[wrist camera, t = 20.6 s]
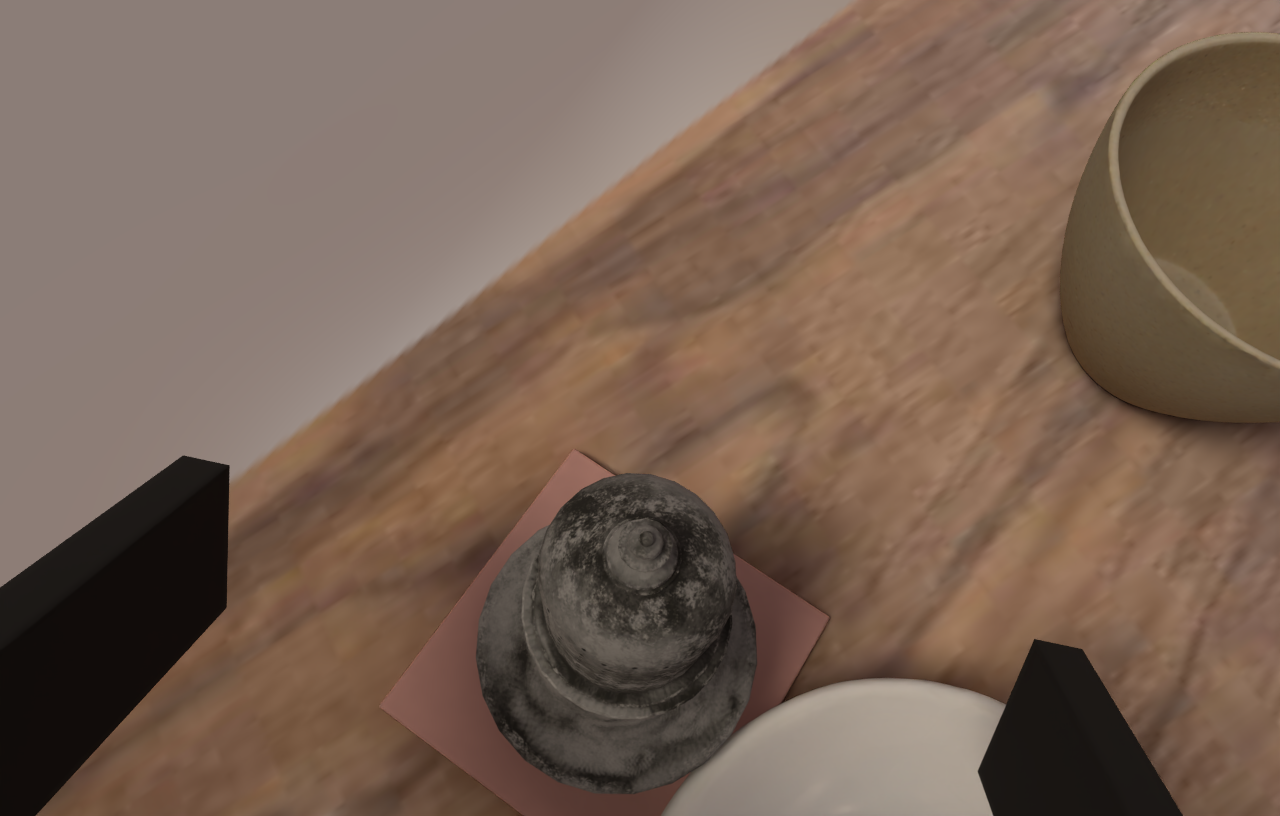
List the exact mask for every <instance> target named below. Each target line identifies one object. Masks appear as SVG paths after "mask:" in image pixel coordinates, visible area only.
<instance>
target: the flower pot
mask: <svg viewBox="0 0 1280 816" xmlns="http://www.w3.org/2000/svg"><path fill="white" fill-rule="evenodd" d="M1060 299H1061V310H1062V317H1063V323H1064V327H1065V332H1066V335H1067V339H1068V342H1069V345H1070V347H1071V349H1072V351H1073V353H1074V355H1075V357H1076V359H1077V360H1078V362H1079V363H1080V365H1081V366H1082V368H1083V369H1084V370H1085V371H1086V372H1087V373H1088V374H1089V375H1090V377H1091V378H1092V379H1093V380H1094V381H1095V382H1096V383H1098V384H1099V385H1100V386H1101V387H1103V388H1104V389H1105V390H1107V391H1108V392H1109V393H1111V394H1112V395H1114V396H1116V397H1117V398H1119V399H1121V400H1123V401H1125V402H1127V403H1130V404H1132V405H1134V406H1138V407H1141V408H1144V409H1147V410H1150V411H1154V412H1158V413H1163V414H1167V415H1172V416H1176V417H1182V418H1188V419H1194V420H1201V421H1215V422H1232V423H1272V422H1280V34H1278V33H1268V32H1240V33H1230V34H1221V35H1216V36H1212V37H1207V38H1203V39H1200V40H1196V41H1193V42H1190V43H1187V44H1185V45H1182V46H1180V47H1178V48H1176V49H1174V50H1171V51H1170V52H1168V53H1167V54H1165V55H1163V56H1161V57H1160V58H1158V59H1157V60H1156V61H1154V62H1153V63H1152V64H1150V65H1149V66H1148V67H1147V68H1146V69H1145V70H1144V71H1143V72H1142V73H1141V74H1140V75H1139V76H1138V77H1137V78H1136V79H1135V80H1134V81H1133V82H1132V84H1131V85H1130V86H1129V88H1128V89H1127V91H1126V92H1125V93H1124V95H1123V96H1122V98H1121V99H1120V101H1119V103H1118V104H1117V106H1116V107H1115V109H1114V111H1113V113H1112V114H1111V116H1110V118H1109V119H1108V121H1107V123H1106V125H1105V127H1104V129H1103V131H1102V133H1101V135H1100V137H1099V139H1098V141H1097V143H1096V145H1095V147H1094V149H1093V151H1092V153H1091V156H1090V158H1089V160H1088V163H1087V165H1086V168H1085V170H1084V172H1083V175H1082V178H1081V180H1080V183H1079V186H1078V188H1077V191H1076V195H1075V198H1074V201H1073V204H1072V208H1071V211H1070V215H1069V219H1068V223H1067V227H1066V232H1065V238H1064V244H1063V250H1062V260H1061V271H1060Z"/></svg>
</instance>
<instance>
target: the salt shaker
mask: <svg viewBox="0 0 1280 816" xmlns="http://www.w3.org/2000/svg"><path fill="white" fill-rule="evenodd" d="M476 662H477V668H478V673H479V679H480V684H481V690H482V696H483V698H484V700H485V702H486V704H487V706H488V708H489V710H490V713H491V715H492V717H493V719H494V721H495V723H496V725H497V727H498V729H499V731H500V732H501V734H502V735H503V736H504V737H505V738H506V739H507V740H508V742H509V743H510V744H511V745H512V746H513V747H514V749H515V750H516V751H517V752H518V753H519V754H520V756H521V757H522V758H523V759H524V760H525V761H526V762H528V763H529V764H531V765H532V766H534V767H535V768H537V769H538V770H540V771H542V772H543V773H545V774H546V775H548V776H549V777H551V778H552V779H554V780H555V781H557V782H559V783H562V784H566V785H569V786H572V787H575V788H579V789H582V790H585V791H588V792H592V793H595V794H637V793H640V792H644V791H647V790H651V789H655V788H658V787H662V786H665V785H669V784H672V783H674V782H676V781H677V780H679V779H680V778H682V777H684V776H685V775H687V774H689V773H690V772H692V771H693V770H695V769H697V768H698V767H700V766H702V765H703V764H705V763H706V762H707V761H708V760H709V759H710V757H711V756H712V755H713V754H714V753H715V752H716V751H717V750H718V749H719V748H720V747H721V746H722V744H723V743H724V742H725V741H726V740H727V739H728V738H729V737H730V736H731V735H732V733H733V731H734V729H735V727H736V725H737V723H738V721H739V719H740V717H741V715H742V713H743V711H744V710H745V708H746V706H747V704H748V702H749V699H750V694H751V690H752V685H753V681H754V676H755V672H756V667H757V644H756V625H755V622H754V618H753V615H752V612H751V608H750V605H749V602H748V598H747V595H746V592H745V590H744V588H743V586H742V585H741V583H740V581H739V580H738V578H737V576H736V562H735V558H734V555H733V551H732V548H731V545H730V542H729V538H728V535H727V533H726V531H725V529H724V528H723V526H722V524H721V523H720V521H719V520H718V518H717V516H716V515H715V513H714V512H713V511H712V510H711V509H710V508H709V507H708V506H707V505H706V504H705V503H704V502H703V501H702V500H701V499H700V498H699V497H698V496H697V495H696V494H695V493H693V492H691V491H690V490H688V489H686V488H685V487H683V486H681V485H680V484H678V483H676V482H675V481H671V480H668V479H665V478H661V477H658V476H655V475H651V474H631V473H626V474H621V475H616V476H611V477H607V478H603V479H601V480H599V481H597V482H595V483H593V484H591V485H589V486H587V487H585V488H583V489H581V490H580V491H579V492H578V493H577V494H575V495H574V496H573V497H572V498H571V499H570V500H569V501H568V502H567V503H565V504H564V505H563V506H562V507H561V508H560V510H559V511H558V513H557V514H556V516H555V518H554V519H553V521H552V522H551V524H550V525H548V526H546V527H544V528H542V529H540V530H538V531H537V532H536V533H535V534H534V535H533V536H531V537H530V538H529V539H528V540H527V541H526V542H525V543H524V544H522V545H521V546H520V547H519V548H518V549H517V550H516V551H515V552H513V553H512V554H511V556H510V557H509V559H508V560H507V562H506V563H505V565H504V566H503V568H502V569H501V571H500V572H499V574H498V575H497V577H496V578H495V580H494V581H493V583H492V584H491V586H490V589H489V592H488V595H487V598H486V601H485V603H484V606H483V609H482V612H481V615H480V618H479V623H478V635H477V648H476Z"/></svg>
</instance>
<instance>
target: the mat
mask: <svg viewBox="0 0 1280 816" xmlns="http://www.w3.org/2000/svg"><path fill="white" fill-rule="evenodd" d="M611 476H615V475H614V474H612V473H611V472H609V471H608V470H606V469H605V468H603V467H601V466H600V465H598V464H597V463H595V462H594V461H592V460H591V459H589V458H588V457H586V456H585V455H583V454H582V453H580V452H579V451H577V450H576V449H573V450H572V451H571V452H570V454H569V455H568V456H567V458H566V459H565V460H564V462H563V463H562V464H561V466H560V467H559V468H558V470H557V471H556V472H555V474H554V475H553V476H552V478H551V479H550V480H549V481H548V483H547V484H546V485H545V487H544V488H543V489H542V491H541V492H540V493H539V495H538V496H537V497H536V499H535V500H534V501H533V503H532V504H531V505H530V507H529V508H528V509H527V511H526V512H525V513H524V515H523V516H522V517H521V519H520V520H519V521H518V522H517V524H516V525H515V526H514V528H513V529H512V530H511V532H510V533H509V534H508V536H507V537H506V538H505V540H504V541H503V542H502V544H501V545H500V546H499V548H498V549H497V550H496V552H495V553H494V554H493V556H492V557H491V558H490V559H489V561H488V562H487V563H486V565H485V566H484V567H483V569H482V570H481V571H480V573H479V574H478V575H477V577H476V578H475V579H474V581H473V582H472V583H471V585H470V586H469V587H468V589H467V590H466V591H465V593H464V594H463V595H462V597H461V598H460V599H459V600H458V602H457V603H456V604H455V606H454V607H453V608H452V610H451V611H450V612H449V614H448V615H447V616H446V618H445V619H444V620H443V622H442V623H441V624H440V626H439V627H438V628H437V630H436V631H435V632H434V634H433V635H432V636H431V637H430V639H429V640H428V641H427V643H426V644H425V645H424V647H423V648H422V649H421V651H420V652H419V653H418V655H417V656H416V657H415V659H414V660H413V661H412V663H411V664H410V665H409V667H408V668H407V669H406V671H405V672H404V673H403V675H402V676H401V677H400V678H399V680H398V681H397V682H396V684H395V685H394V686H393V688H392V689H391V690H390V692H389V693H388V694H387V696H386V697H385V698H384V700H383V701H382V702H381V704H380V708H381V709H382V710H384V711H385V712H386V713H388V714H389V715H390V716H392V717H393V718H394V719H396V720H397V721H398V722H400V723H401V724H402V725H404V726H405V727H406V728H408V729H409V730H410V731H412V732H413V733H414V734H416V735H417V736H418V737H420V738H421V739H422V740H424V741H425V742H426V743H427V744H429V745H430V746H431V747H433V748H434V749H435V750H437V751H438V752H439V753H441V754H442V755H443V756H445V757H446V758H447V759H449V760H450V761H451V762H453V763H454V764H455V765H457V766H458V767H459V768H461V769H462V770H463V771H465V772H466V773H467V774H469V775H470V776H471V777H473V778H474V779H475V780H477V781H478V782H479V783H481V784H482V785H483V786H485V787H486V788H487V789H489V790H490V791H491V792H493V793H494V794H495V795H497V796H498V797H499V798H501V799H502V800H503V801H505V802H506V803H507V804H509V805H510V806H511V807H513V808H514V809H515V810H517V811H518V812H519V813H521V814H522V815H523V816H661V814H662V813H663V811H664V809H665V807H666V806H667V804H668V803H669V801H670V800H671V799H672V797H673V796H674V794H675V793H676V791H677V790H678V789H679V787H680V786H681V785H682V783H683V782H684V781H685V779H686V778H687V777H688V775H689V774H690V773H691V772H690V773H689V774H687V775H685V776H684V777H682V778H680V779H679V780H677V781H676V782H674V783H672V784H669V785H665V786H662V787H658V788H655V789H651V790H647V791H644V792H640V793H637V794H595V793H592V792H588V791H585V790H582V789H579V788H575V787H572V786H569V785H566V784H562V783H559V782H557V781H555V780H554V779H552V778H551V777H549V776H548V775H546V774H545V773H543V772H542V771H540V770H538V769H537V768H535V767H534V766H532V765H531V764H529V763H528V762H526V761H525V760H524V759H523V758H522V757H521V756H520V754H519V753H518V752H517V751H516V750H515V749H514V747H513V746H512V745H511V744H510V743H509V742H508V740H507V739H506V738H505V737H504V736H503V735H502V734H501V732H500V731H499V729H498V727H497V725H496V723H495V721H494V719H493V717H492V715H491V713H490V710H489V708H488V706H487V704H486V702H485V700H484V698H483V696H482V690H481V684H480V679H479V673H478V668H477V662H476V648H477V635H478V623H479V618H480V615H481V612H482V609H483V606H484V603H485V601H486V598H487V595H488V592H489V589H490V586H491V584H492V583H493V581H494V580H495V578H496V577H497V575H498V574H499V572H500V571H501V569H502V568H503V566H504V565H505V563H506V562H507V560H508V559H509V557H510V556H511V554H512V553H513V552H515V551H516V550H517V549H518V548H519V547H520V546H521V545H522V544H524V543H525V542H526V541H527V540H528V539H529V538H530V537H531V536H533V535H534V534H535V533H536V532H537V531H538V530H540V529H542V528H544V527H546V526H548V525H550V524H551V522H552V521H553V519H554V518H555V516H556V514H557V513H558V511H559V510H560V508H561V507H562V506H563V505H564V504H565V503H567V502H568V501H569V500H570V499H571V498H572V497H573V496H574V495H575V494H577V493H578V492H579V491H580V490H581V489H583V488H585V487H587V486H589V485H591V484H593V483H595V482H597V481H599V480H601V479H603V478H607V477H611ZM733 555H734V558H735V562H736V576H737V578H738V580H739V581H740V583H741V585H742V586H743V588H744V590H745V592H746V595H747V598H748V602H749V605H750V608H751V612H752V615H753V618H754V622H755V625H756V644H757V667H756V672H755V676H754V681H753V685H752V690H751V694H750V699H749V702H748V704H747V706H746V708H745V710H744V711H743V713H742V715H741V717H740V719H739V721H738V723H737V725H736V727H735V729H734V731H733V733H735V732H736V731H737V730H739V729H740V728H741V727H743V726H744V725H746V724H747V723H749V722H750V721H752V720H754V719H755V718H757V717H758V716H760V715H762V714H763V713H765V712H766V711H768V710H770V709H771V708H773V707H775V706H777V705H779V704H781V703H782V701H783V700H784V698H785V696H786V694H787V693H788V691H789V689H790V687H791V686H792V684H793V682H794V680H795V679H796V677H797V675H798V673H799V672H800V670H801V668H802V666H803V665H804V663H805V661H806V659H807V658H808V656H809V654H810V652H811V651H812V649H813V647H814V645H815V644H816V642H817V640H818V638H819V637H820V635H821V633H822V631H823V630H824V628H825V626H826V624H827V623H828V621H829V616H827V615H826V614H824V613H823V612H821V611H820V610H818V609H817V608H815V607H814V606H812V605H811V604H809V603H808V602H806V601H805V600H803V599H802V598H800V597H799V596H797V595H796V594H794V593H792V592H791V591H789V590H788V589H786V588H785V587H783V586H782V585H780V584H779V583H777V582H776V581H774V580H773V579H771V578H770V577H768V576H767V575H765V574H764V573H762V572H761V571H759V570H758V569H756V568H755V567H753V566H752V565H750V564H749V563H747V562H745V561H744V560H742V559H741V558H739V557H738V556H736V555H735V554H733ZM733 733H732V734H733Z"/></svg>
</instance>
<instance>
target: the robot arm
mask: <svg viewBox="0 0 1280 816" xmlns="http://www.w3.org/2000/svg"><path fill="white" fill-rule="evenodd" d="M228 512H229V465H225V464H220V463H215V462H210V461H206V460H201V459H197V458H192V457H187V456H182V457H180V458H179V459H178V460H176V461H175V462H173V463H172V464H171V465H169V466H168V467H167V468H165V469H164V470H163V471H161V472H160V473H158V474H157V475H155V476H154V477H153V478H151V479H150V480H149V481H147V482H146V483H144V484H143V485H142V486H140V487H139V488H137V489H136V490H135V491H133V492H132V493H131V494H129V495H128V496H126V497H125V498H124V499H122V500H121V501H119V502H118V503H117V504H115V505H114V506H113V507H111V508H110V509H108V510H107V511H106V512H104V513H103V514H101V515H100V516H99V517H97V518H96V519H95V520H93V521H92V522H90V523H89V524H88V525H86V526H85V527H83V528H82V529H81V530H79V531H78V532H77V533H75V534H74V535H72V536H71V537H70V538H68V539H67V540H65V541H64V542H63V543H61V544H60V545H59V546H57V547H56V548H54V549H53V550H52V551H50V552H49V553H47V554H46V555H45V556H43V557H42V558H41V559H39V560H38V561H36V562H35V563H34V564H32V565H31V566H29V567H28V568H27V569H25V570H24V571H23V572H21V573H20V574H18V575H17V576H16V577H14V578H13V579H11V580H10V581H9V582H7V583H6V584H4V585H3V586H2V587H0V816H35V815H36V814H37V813H38V812H39V811H40V810H41V809H42V808H43V807H44V806H45V805H46V804H47V802H48V801H49V800H50V799H51V798H52V797H53V796H54V795H55V794H56V793H57V792H58V790H59V789H60V788H61V787H62V786H63V785H64V784H65V783H66V782H67V781H68V780H69V778H70V777H71V776H72V775H73V774H74V773H75V772H76V771H77V770H78V769H79V768H80V767H81V765H82V764H83V763H84V762H85V761H86V760H87V759H88V758H89V757H90V756H91V755H92V753H93V752H94V751H95V750H96V749H97V748H98V747H99V746H100V745H101V744H102V743H103V741H104V740H105V739H106V738H107V737H108V736H109V735H110V734H111V733H112V732H113V731H114V730H115V728H116V727H117V726H118V725H119V724H120V723H121V722H122V721H123V720H124V719H125V718H126V716H127V715H128V714H129V713H130V712H131V711H132V710H133V709H134V708H135V707H136V706H137V704H138V703H139V702H140V701H141V700H142V699H143V698H144V697H145V696H146V695H147V694H148V693H149V691H150V690H151V689H152V688H153V687H154V686H155V685H156V684H157V683H158V682H159V681H160V679H161V678H162V677H163V676H164V675H165V674H166V673H167V672H168V671H169V670H170V669H171V667H172V666H173V665H174V664H175V663H176V662H177V661H178V660H179V659H180V658H181V657H182V655H183V654H184V653H185V652H186V651H187V650H188V649H189V648H190V647H191V646H192V645H193V644H194V642H195V641H196V640H197V639H198V638H199V637H200V636H201V635H202V634H203V633H204V632H205V630H206V629H207V628H208V627H209V626H210V625H211V624H212V623H213V622H214V621H215V620H216V618H217V617H218V616H219V615H220V614H221V613H222V612H223V611H224V610H225V609H226V607H227V560H228ZM978 774H979V777H980V780H981V783H982V786H983V788H984V791H985V794H986V797H987V800H988V803H989V805H990V808H991V811H992V814H993V816H1183V815H1182V813H1181V812H1180V810H1179V808H1178V807H1177V805H1176V803H1175V802H1174V800H1173V798H1172V797H1171V795H1170V793H1169V792H1168V790H1167V788H1166V787H1165V785H1164V784H1163V782H1162V780H1161V779H1160V777H1159V775H1158V774H1157V772H1156V770H1155V769H1154V767H1153V765H1152V764H1151V762H1150V760H1149V759H1148V757H1147V755H1146V754H1145V752H1144V751H1143V749H1142V747H1141V746H1140V744H1139V742H1138V741H1137V739H1136V737H1135V736H1134V734H1133V732H1132V731H1131V729H1130V727H1129V726H1128V724H1127V722H1126V721H1125V719H1124V718H1123V716H1122V714H1121V713H1120V711H1119V709H1118V708H1117V706H1116V704H1115V703H1114V701H1113V699H1112V698H1111V696H1110V694H1109V693H1108V691H1107V689H1106V688H1105V686H1104V684H1103V683H1102V681H1101V680H1100V678H1099V676H1098V675H1097V673H1096V671H1095V670H1094V668H1093V666H1092V665H1091V663H1090V661H1089V660H1088V658H1087V656H1086V655H1085V653H1084V651H1083V650H1082V649H1078V648H1074V647H1069V646H1064V645H1060V644H1055V643H1050V642H1046V641H1041V640H1037V639H1034V642H1033V644H1032V646H1031V648H1030V651H1029V653H1028V655H1027V658H1026V660H1025V662H1024V665H1023V667H1022V669H1021V672H1020V674H1019V676H1018V679H1017V681H1016V683H1015V686H1014V688H1013V690H1012V692H1011V695H1010V697H1009V699H1008V702H1007V704H1006V706H1005V709H1004V711H1003V713H1002V716H1001V718H1000V720H999V723H998V725H997V727H996V730H995V732H994V734H993V736H992V739H991V741H990V743H989V746H988V748H987V750H986V753H985V755H984V757H983V760H982V762H981V764H980V767H979V769H978Z"/></svg>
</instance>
